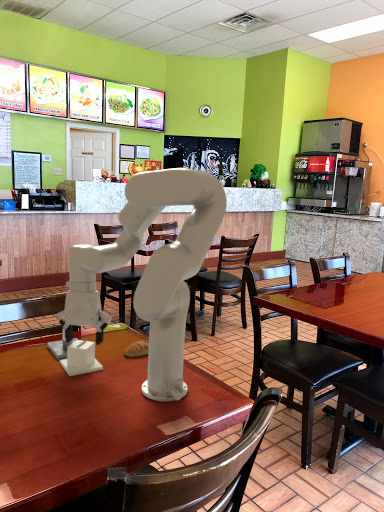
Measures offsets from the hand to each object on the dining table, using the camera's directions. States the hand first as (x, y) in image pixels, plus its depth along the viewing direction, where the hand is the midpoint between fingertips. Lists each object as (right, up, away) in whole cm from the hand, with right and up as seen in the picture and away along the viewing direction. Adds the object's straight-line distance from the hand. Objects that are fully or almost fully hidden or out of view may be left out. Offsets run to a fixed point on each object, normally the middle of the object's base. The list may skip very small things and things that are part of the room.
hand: (84, 342), depth 122 cm
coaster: (-1, -8, +2) cm, 8 cm away
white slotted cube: (-1, -7, +1) cm, 7 cm away
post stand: (-9, -6, +13) cm, 17 cm away
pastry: (+14, -7, +15) cm, 22 cm away
